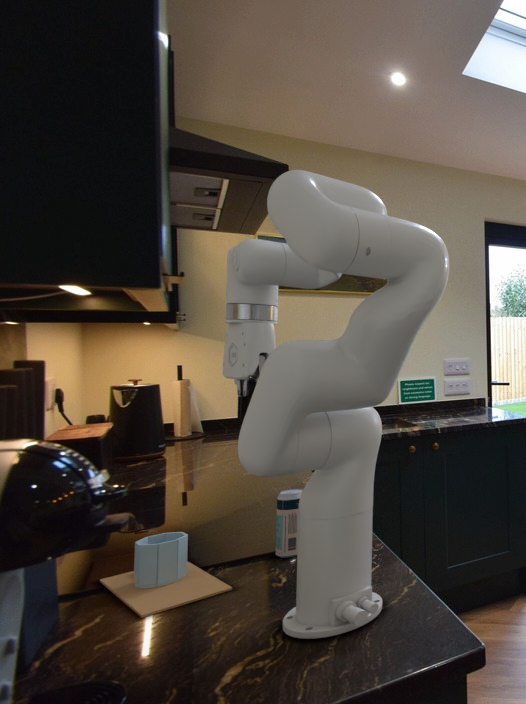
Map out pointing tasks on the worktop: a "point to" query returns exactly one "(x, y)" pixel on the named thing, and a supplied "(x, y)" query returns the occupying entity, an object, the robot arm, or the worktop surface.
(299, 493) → the white labelled bottle
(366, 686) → the worktop surface
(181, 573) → the pale-blue faceted part
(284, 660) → the worktop surface
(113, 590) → the cork mat
